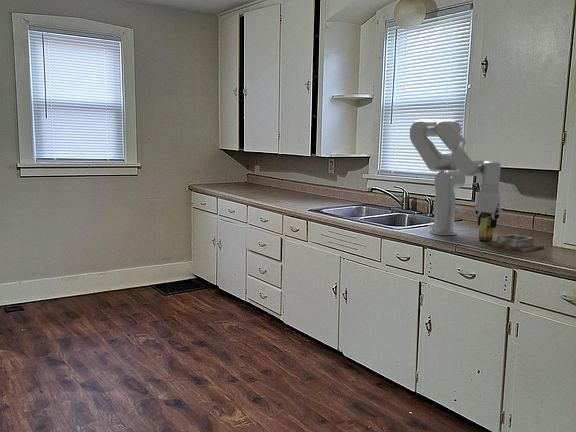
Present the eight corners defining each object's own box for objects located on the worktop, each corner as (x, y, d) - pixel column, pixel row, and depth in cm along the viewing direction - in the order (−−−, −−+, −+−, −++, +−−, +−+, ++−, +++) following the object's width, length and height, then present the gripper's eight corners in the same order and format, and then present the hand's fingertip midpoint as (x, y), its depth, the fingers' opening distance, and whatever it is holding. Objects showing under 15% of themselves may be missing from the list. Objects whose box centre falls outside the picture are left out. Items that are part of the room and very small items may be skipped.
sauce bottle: (487, 242, 249) (490, 199, 246) (475, 239, 254) (479, 197, 251) (495, 240, 253) (499, 198, 250) (483, 238, 258) (487, 196, 255)
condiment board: (487, 244, 244) (487, 235, 243) (507, 241, 252) (507, 232, 252) (523, 252, 229) (524, 242, 228) (543, 248, 237) (544, 239, 237)
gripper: (469, 186, 254) (466, 224, 257) (501, 190, 240) (498, 230, 243) (479, 185, 259) (476, 222, 262) (511, 189, 245) (508, 228, 248)
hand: (486, 226), depth 252 cm, fingers closed on sauce bottle, 6 cm apart
